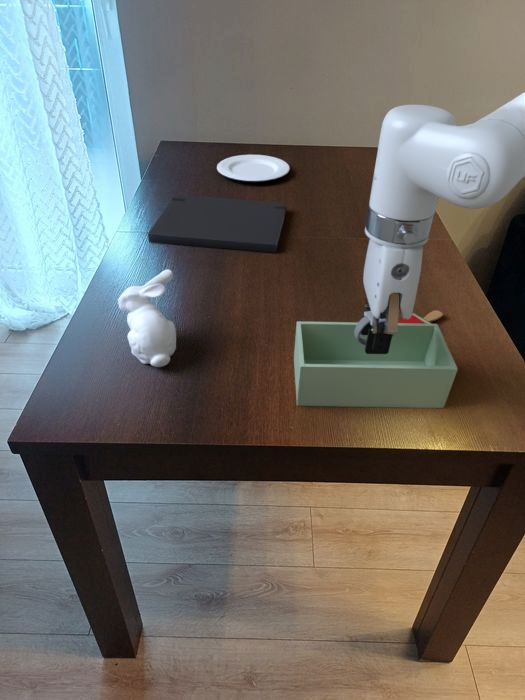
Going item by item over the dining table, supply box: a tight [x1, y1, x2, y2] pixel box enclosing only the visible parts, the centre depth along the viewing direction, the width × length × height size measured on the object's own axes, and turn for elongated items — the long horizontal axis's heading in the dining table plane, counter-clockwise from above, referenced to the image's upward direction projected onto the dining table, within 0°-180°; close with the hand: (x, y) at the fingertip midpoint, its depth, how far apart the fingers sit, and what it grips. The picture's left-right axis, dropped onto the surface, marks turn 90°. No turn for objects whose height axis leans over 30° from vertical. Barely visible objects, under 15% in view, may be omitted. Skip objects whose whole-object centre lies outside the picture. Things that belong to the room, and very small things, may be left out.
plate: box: [216, 154, 291, 184], centre depth 141 cm, size 21×21×2 cm
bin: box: [293, 320, 458, 409], centre depth 72 cm, size 21×10×8 cm, turn 90°
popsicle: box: [398, 309, 444, 324], centre depth 85 cm, size 5×2×15 cm
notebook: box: [147, 194, 287, 254], centre depth 114 cm, size 22×2×28 cm
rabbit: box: [117, 269, 177, 368], centre depth 76 cm, size 12×9×12 cm
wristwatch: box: [354, 309, 398, 345], centre depth 68 cm, size 6×3×5 cm, turn 106°
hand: (373, 342), depth 70 cm, fingers closed on wristwatch, 3 cm apart
